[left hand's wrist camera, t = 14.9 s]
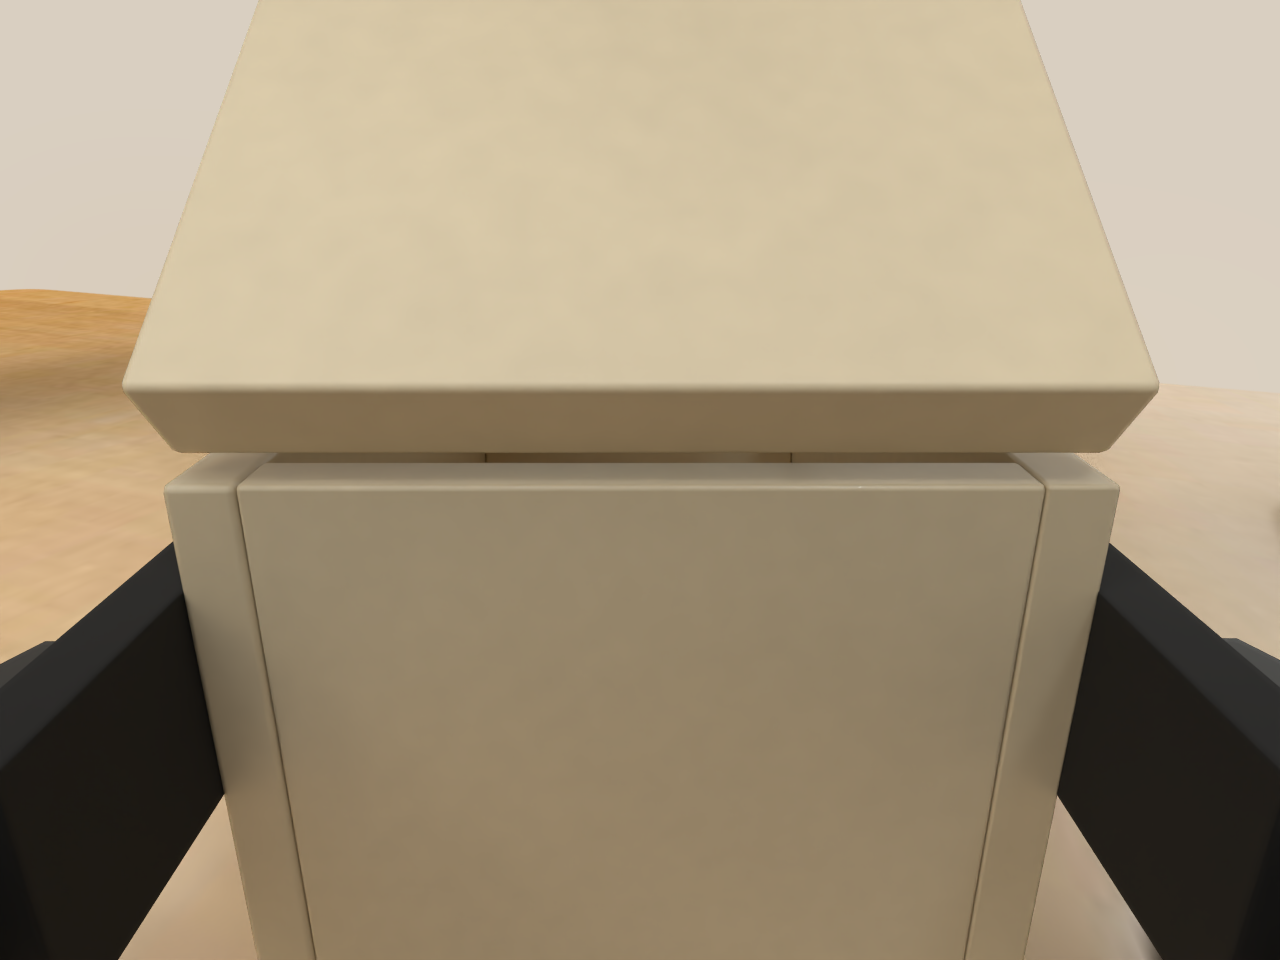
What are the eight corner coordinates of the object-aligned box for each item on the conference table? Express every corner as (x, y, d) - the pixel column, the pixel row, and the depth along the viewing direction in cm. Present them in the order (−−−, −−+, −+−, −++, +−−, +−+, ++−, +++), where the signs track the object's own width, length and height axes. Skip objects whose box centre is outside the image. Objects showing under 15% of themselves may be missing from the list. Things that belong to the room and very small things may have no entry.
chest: (472, 594, 27) (449, 277, 23) (804, 594, 27) (827, 277, 23) (285, 1110, 12) (157, 485, 9) (993, 1108, 13) (1123, 485, 9)
